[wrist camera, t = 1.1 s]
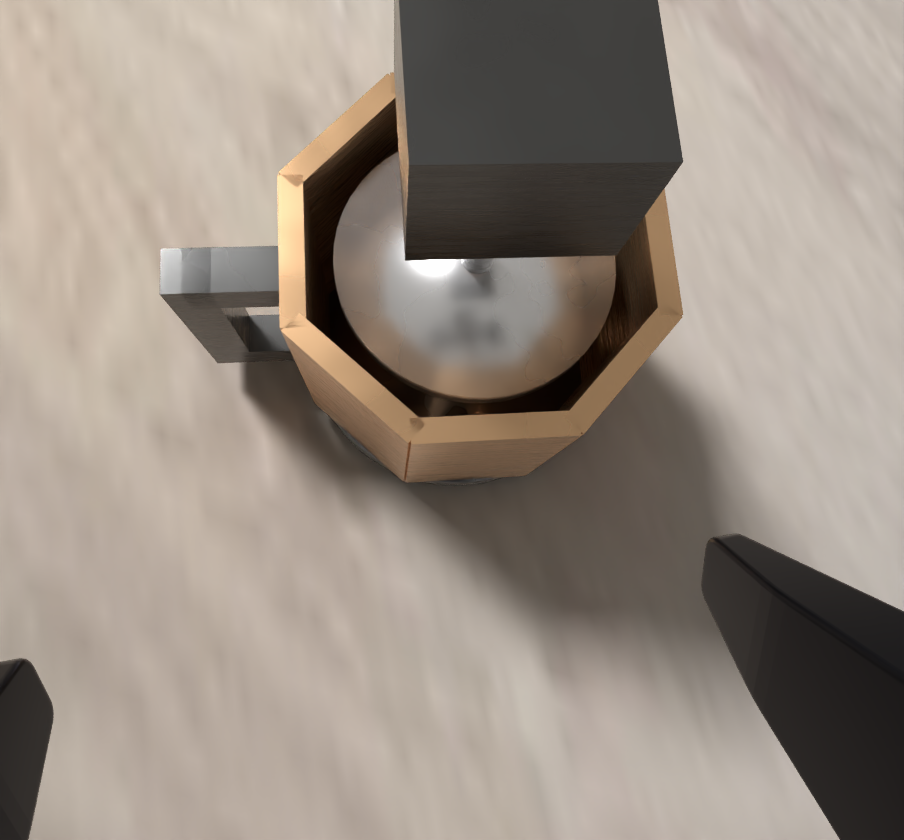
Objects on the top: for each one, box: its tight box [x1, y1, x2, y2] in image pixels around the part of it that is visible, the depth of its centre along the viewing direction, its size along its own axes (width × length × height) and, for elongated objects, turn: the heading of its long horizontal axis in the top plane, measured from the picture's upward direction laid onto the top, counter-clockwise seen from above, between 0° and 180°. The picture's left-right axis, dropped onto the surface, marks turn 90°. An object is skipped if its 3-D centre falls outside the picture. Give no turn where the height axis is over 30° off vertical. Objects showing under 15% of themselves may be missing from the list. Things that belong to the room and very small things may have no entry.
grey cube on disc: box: [333, 0, 683, 403], centre depth 14 cm, size 7×7×8 cm
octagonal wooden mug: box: [160, 73, 683, 485], centre depth 20 cm, size 10×13×8 cm
